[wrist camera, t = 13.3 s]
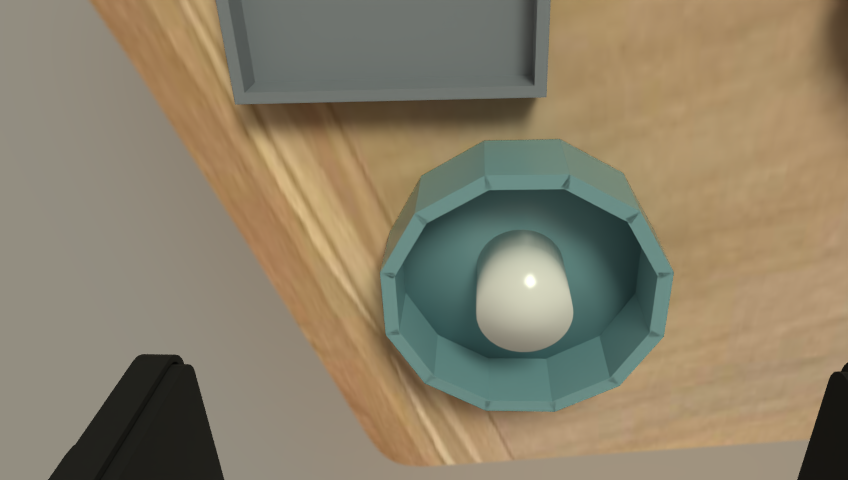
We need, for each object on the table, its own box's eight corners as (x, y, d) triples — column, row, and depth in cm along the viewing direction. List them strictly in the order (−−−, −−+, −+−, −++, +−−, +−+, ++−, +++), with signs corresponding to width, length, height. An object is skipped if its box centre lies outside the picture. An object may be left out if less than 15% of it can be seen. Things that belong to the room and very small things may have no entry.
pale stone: (566, 229, 39) (576, 273, 35) (561, 303, 42) (570, 352, 38) (476, 229, 40) (475, 273, 36) (477, 303, 42) (476, 351, 38)
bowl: (666, 137, 37) (689, 172, 33) (635, 361, 45) (651, 413, 40) (383, 142, 38) (371, 177, 34) (400, 359, 46) (392, 409, 42)
